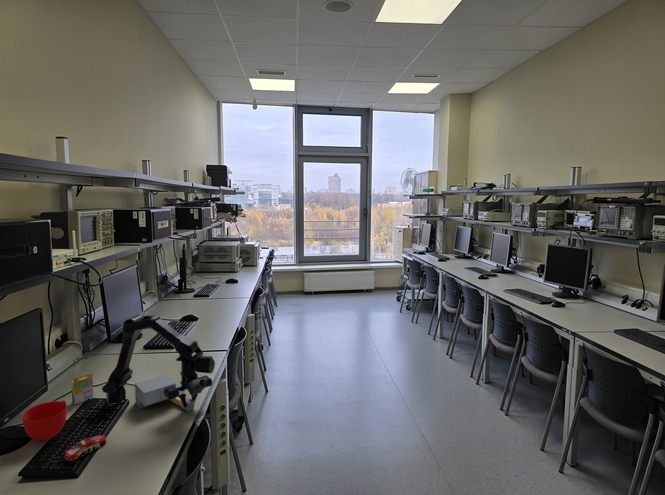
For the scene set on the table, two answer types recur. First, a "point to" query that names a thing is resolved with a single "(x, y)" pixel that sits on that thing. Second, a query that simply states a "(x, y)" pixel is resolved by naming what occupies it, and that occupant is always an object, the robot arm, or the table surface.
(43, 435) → the red spouted bowl
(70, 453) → the race car
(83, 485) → the table surface
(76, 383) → the crayon box
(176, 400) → the gray mallet
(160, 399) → the cabinet
